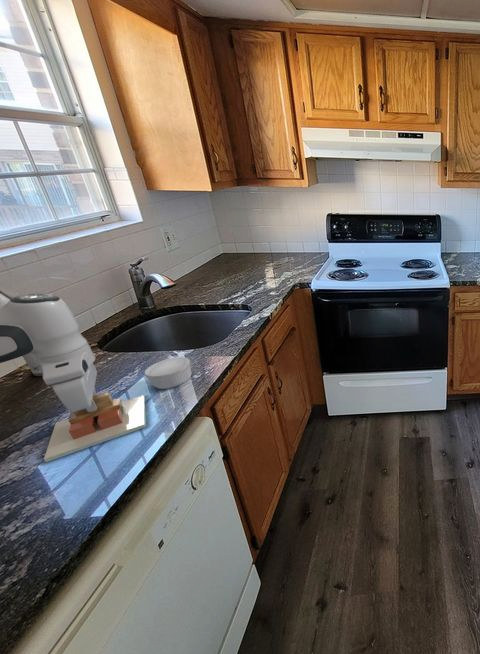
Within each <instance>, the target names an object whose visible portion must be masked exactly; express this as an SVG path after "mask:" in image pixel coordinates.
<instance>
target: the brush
mask: <svg viewBox="0 0 480 654" xmlns="http://www.w3.org/2000/svg"><path fill="white" fill-rule="evenodd" d="M92 399H93V400H94V402H96V404H97V406H98V407H97V410H96V411H93V412H88V411H87V410H86V408H85V409H82V410H79V411H76V412H71V411H70V414H69V417H68V419H69V422H70V424H71V423H72V422H75V421H78V420H81V419H84V418H88V417H91V416H93V417H94V419H95V421H96V422H98V416H99V414H100V413H103V412H107V411H110V410H113V409H116V408H120V410H121V412H122V414H123V406H122V402H123V401H122V398H121V397H117V398H113V397H112V396H111V394H110V392H109V391H106V392H102V393H99V394H96V396H93V398H92Z"/></svg>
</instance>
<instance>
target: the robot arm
mask: <svg viewBox="0 0 480 654" xmlns="http://www.w3.org/2000/svg"><path fill="white" fill-rule="evenodd" d="M28 353H32V354H34V355H35V357H36V359H37V360H38V362H39V364H40V367H41V368H42V374H43V375H42V380H43V382H44V383H45V385H46V386H50V385H51V388H52V390H53V392H54V393H55V395H56V396H57V399H59V401H60V402H61V403H62V406H64V408H66V410H68V411H69V412H70V413H71V412H76V411H79V410H82V409H85V408H86V410H87V411H88V412H93V411H96V410H97V407H98V406H97V404H96V402H94V400H93V399H92V398H93V396H96V395H97V391H96V388H95V387H96V382H97V376H98V370H97V368H96V366H95V364H94V362H95V361H96V359H97V358H96V356H95V354H94V352H93V350H92V348H91V346H90V344H89V342H88V340H87V339H86V338H85V337H84V336H83V335H82V333H81V330H80V325H79V323H78V321H77V319H76V317H75V315H74V314H73V312H72V310H71V309H70V307H69V306H68V304H67V303H66V302H65V301H64V300H63V299H62V298H60V296H58V295H55V294H51V293H45V292H44V293H43V292H40V293H39V292H38V293H37V292H36V293H27V294H20V295H17V296H14V297H12V296H10V295H8V294H7V293H5V292H3V291H2V290H0V364H2V363H5V362H9V361H12V360H15V359H18V358H21V357H23V356H24V355H26V354H28Z"/></svg>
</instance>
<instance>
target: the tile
mask: <svg viewBox="0 0 480 654" xmlns="http://www.w3.org/2000/svg"><path fill="white" fill-rule="evenodd" d="M122 406H123V421H122V423H121V424H118V425H115V426H112V427H109V428H106V429H103V430H101V428H100V426H99V424H98V422H97V427H96V432H94V433H91V434H88V435H85V436H82V437H80V438H77V439H73V438H72V436H71V434H70V433H69V429H70V425H71V424H70V422H69V418H66V419H63V420H60V421H56V422H55V423H54V427H53V430H52V433H51V436H50V439H49V442H48V445H47V448H46V452H45V454H44V457H43V461H44V462H45V463H48V462H51V461H54V460H57V459H60V458H63V457H65V456H68V455H71V454H74V453H76V452H79V451H82V450H85V449H89V448H91V447H94V446H96V445H100V444H102V443H106V442H108V441H110V440H113V439H116V438H119V437H122V436H125V435H128V434H131V433H133V432H136V431H139V430H142V429H144V428H147V421H146V420H147V418H146V417H147V416H146V396H145V394H143V395H140V396H136V397H132V398H129V399H127V400H123V401H122Z"/></svg>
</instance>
